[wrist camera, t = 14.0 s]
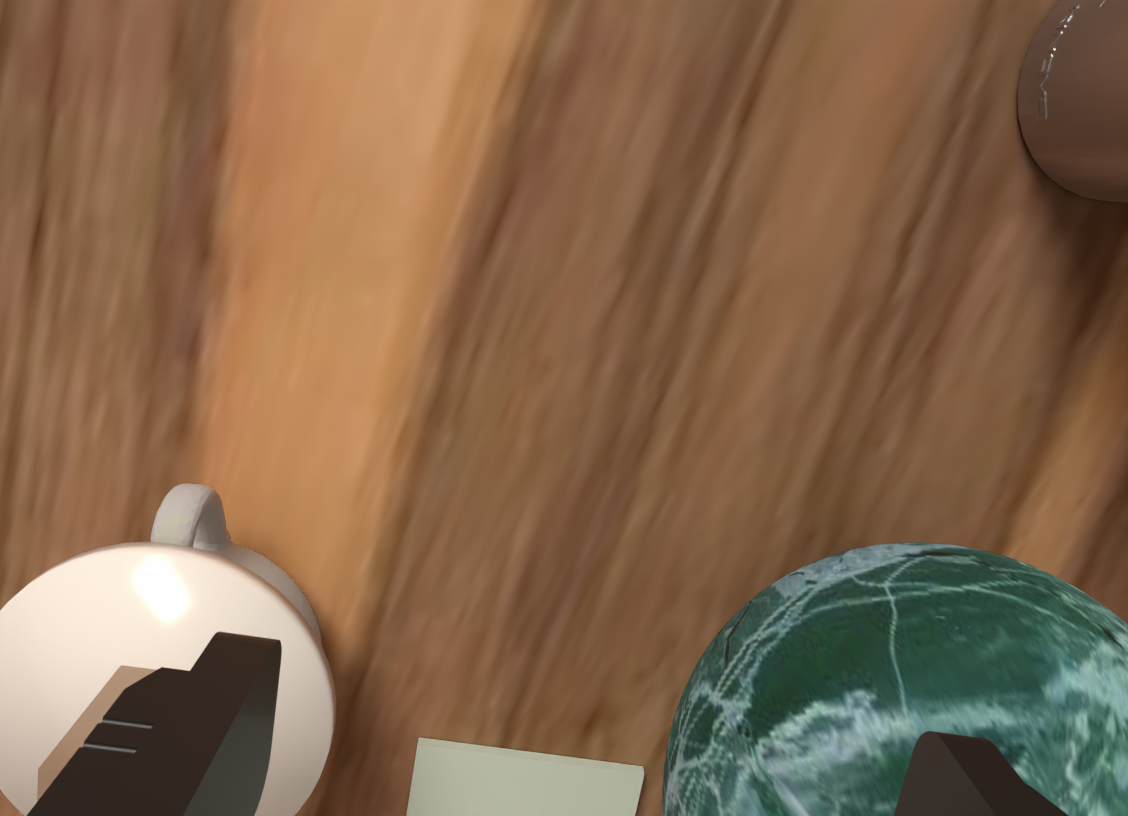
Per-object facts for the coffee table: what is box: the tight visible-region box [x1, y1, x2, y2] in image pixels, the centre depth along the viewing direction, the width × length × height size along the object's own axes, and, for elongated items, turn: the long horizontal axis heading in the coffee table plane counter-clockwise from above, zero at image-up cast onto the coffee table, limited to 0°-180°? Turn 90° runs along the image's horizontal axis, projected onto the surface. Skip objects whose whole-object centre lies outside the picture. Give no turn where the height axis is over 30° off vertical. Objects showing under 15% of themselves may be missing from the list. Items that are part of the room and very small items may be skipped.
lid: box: [0, 542, 337, 816], centre depth 32 cm, size 13×13×7 cm
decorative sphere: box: [663, 542, 1128, 816], centre depth 36 cm, size 20×20×20 cm
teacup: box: [151, 484, 322, 645], centre depth 39 cm, size 14×11×8 cm
